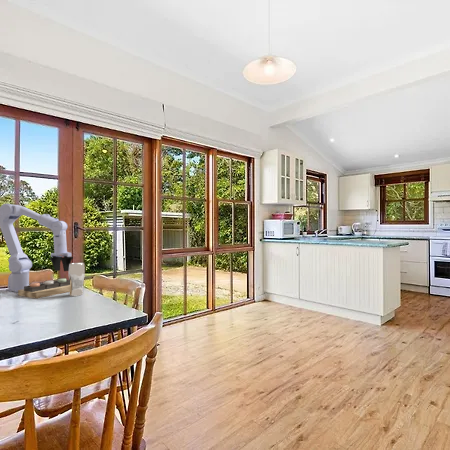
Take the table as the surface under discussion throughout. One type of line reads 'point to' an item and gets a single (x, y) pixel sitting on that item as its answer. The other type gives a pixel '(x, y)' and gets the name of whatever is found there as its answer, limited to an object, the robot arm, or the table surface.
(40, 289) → the button panel
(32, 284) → the button terracotta
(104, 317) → the table surface
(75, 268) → the beer glass
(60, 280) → the button green
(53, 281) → the button grey
